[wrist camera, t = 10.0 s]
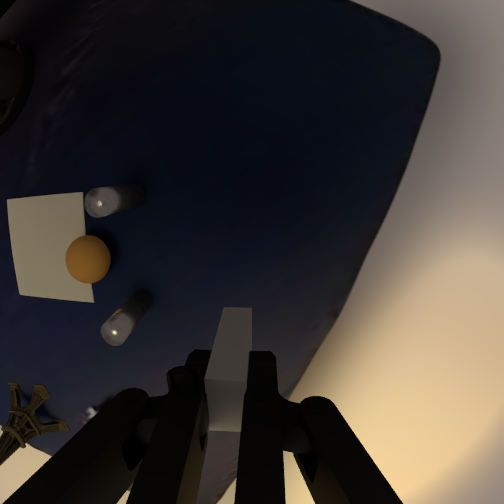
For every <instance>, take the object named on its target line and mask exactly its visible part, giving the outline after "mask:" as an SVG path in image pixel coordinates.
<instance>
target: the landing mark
mask: <svg viewBox="0 0 504 504" xmlns="http://www.w3.org/2000/svg"><path fill="white" fill-rule="evenodd" d="M7 206H8V218H9V229H10V238H11V246H12V253H13V259H14V266H15V272H16V277H17V282H18V288H19V292H20V295H27V296H35V297H44V298H53V299H63V300H72V301H83V302H94V295H93V289H92V283H82V282H79V281H77V280H76V279H74V278H73V277H72V276H71V274H70V273H69V271H68V269H67V267H66V261H65V257H66V252H67V249H68V247H69V245H70V244H71V243H72V242H73V241H74V240H75V239H76V238H78V237H81V236H84V235H86V229H85V216H84V198H83V192H77V193H65V194H54V195H44V196H34V197H25V198H16V199H8V200H7Z"/></svg>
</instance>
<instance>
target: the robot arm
mask: <svg viewBox="0 0 504 504" xmlns="http://www.w3.org/2000/svg"><path fill="white" fill-rule="evenodd" d="M15 1H16V0H0V18H1V17H2V16H3V15H4V14H5V12H6V11H7V10H8V9H9V8H10V7H11V5H12V4H13V3H14V2H15ZM32 78H33V57H32V54H31V51H30V50H29V48H28V47H27V46H26V45H24V44H22V43H20V42H18V41H15V40H10V39H7V40H0V134H2V133H3V132H5V131H6V130H7V129H8V128H9V127H10V126H11V124H12V123H13V122H14V121H15V119H16V118H17V116H18V115H19V113H20V111H21V109H22V108H23V106H24V103H25V101H26V99H27V96H28V93H29V90H30V87H31V83H32ZM251 343H252V308H232V307H224V309H223V312H222V316H221V320H220V323H219V327H218V331H217V334H216V338H215V342H214V345H213V349H212V350H197V349H195V350H194V351H193V352H192V353H190V354H189V356H188V358H187V361H186V363H185V366H178V367H175V368H173V369H171V370H169V371H168V372H167V374H166V376H167V382H168V388H169V392H168V394H166V395H163V396H157V397H149V396H148V394H147V393H146V392H145V391H144V390H142V389H138V388H128V389H125V390H122V391H121V392H119V393H118V394H117V395H116V396H115V397H114V398H113V399H112V400H111V401H110V402H109V403H108V404H107V405H106V406H104V407H103V408H102V409H101V410H100V411H99V412H98V413H97V414H96V415H95V416H94V417H93V418H92V419H91V420H90V421H89V422H88V423H87V424H86V425H85V426H84V427H83V428H82V429H81V430H79V431H78V432H77V433H76V434H75V435H74V436H73V437H72V438H71V439H70V440H69V441H68V442H67V443H66V444H65V445H64V446H63V447H62V448H61V449H60V450H59V451H58V452H56V453H55V454H54V455H53V456H52V457H51V458H50V459H49V460H48V461H47V462H46V463H45V464H44V465H43V466H42V467H41V468H40V469H39V470H38V471H36V472H35V473H34V474H33V475H32V476H31V477H30V478H29V479H28V480H27V481H26V482H25V483H24V484H23V485H22V486H21V487H20V488H19V489H17V490H16V491H15V492H14V493H13V494H12V495H11V496H10V497H9V498H8V499H7V500H6V501H5V502H4V503H3V504H117V502H118V501H119V500H120V498H121V497H122V496H123V494H124V493H125V492H126V491H127V489H128V488H129V487H130V485H131V484H132V483H133V481H134V483H133V486H132V488H131V491H130V494H129V497H128V500H127V502H126V504H196V500H197V495H198V489H199V484H200V479H201V473H202V468H203V463H204V458H205V452H206V447H207V442H208V434H207V429H208V424H209V430H216V431H234V432H241V435H240V446H239V457H238V469H237V480H236V492H235V502H234V504H286V501H285V481H284V462H283V450H284V451H288V452H293V455H294V458H295V460H296V462H297V465H298V467H299V469H300V471H301V474H302V476H303V478H304V480H305V482H306V485H307V487H308V489H309V491H310V493H311V495H312V498H313V500H314V502H315V504H403V503H402V501H401V500H400V499H399V497H398V496H397V494H396V493H395V491H394V490H393V489H392V487H391V486H390V484H389V483H388V481H387V480H386V479H385V477H384V476H383V474H382V473H381V471H380V470H379V468H378V467H377V466H376V464H375V463H374V461H373V460H372V458H371V457H370V455H369V454H368V453H367V451H366V450H365V448H364V447H363V445H362V444H361V442H360V441H359V439H358V438H357V437H356V435H355V434H354V432H353V431H352V429H351V428H350V427H349V425H348V423H347V422H346V420H345V419H344V418H343V416H342V415H341V413H340V412H339V410H338V409H337V407H336V406H335V404H334V403H333V402H332V401H331V400H330V399H327V398H325V397H321V396H311V397H308V398H305V399H304V400H303V401H301V402H300V403H295V402H291V401H288V400H286V399H284V398H283V397H282V396H281V395H280V394H279V392H278V383H277V367H276V357H275V356H274V354H273V353H272V352H271V351H251Z"/></svg>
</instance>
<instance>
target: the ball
mask: <svg viewBox="0 0 504 504" xmlns="http://www.w3.org/2000/svg"><path fill="white" fill-rule="evenodd" d="M65 261H66V267H67V269H68V271H69V273H70V274H71V276H72V277H73V278H74V279H76V280H77V281H79V282H82V283H94V282H97V281H99V280H101V279H102V278H103V277H104V276H105V275H106V273H107V272H108V270H109V267H110V261H111V258H110V252H109V249H108V247H107V246H106V244H105V243H104V242H103V241H102V240H101V239H99V238H97V237H95V236H91V235H84V236H81V237H78V238H76V239H75V240H74V241H73V242H72V243H71V244H70V245H69V247H68V249H67V252H66V257H65Z"/></svg>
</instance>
